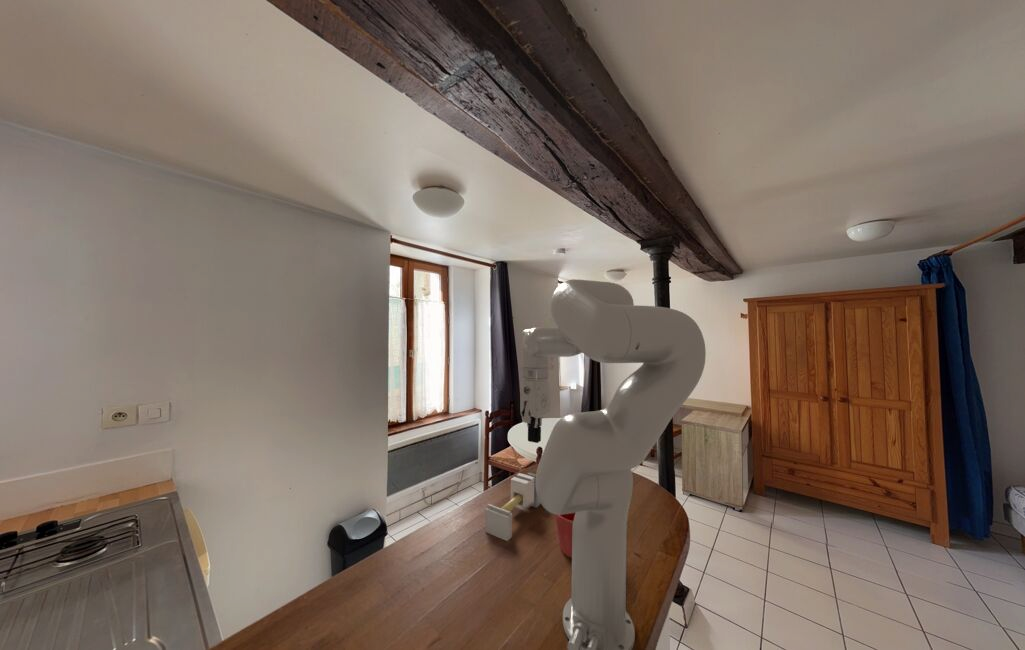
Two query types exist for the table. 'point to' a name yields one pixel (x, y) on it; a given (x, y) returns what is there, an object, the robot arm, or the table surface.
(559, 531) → the flower pot
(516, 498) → the rail
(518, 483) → the grooved sliding block
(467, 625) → the table surface
